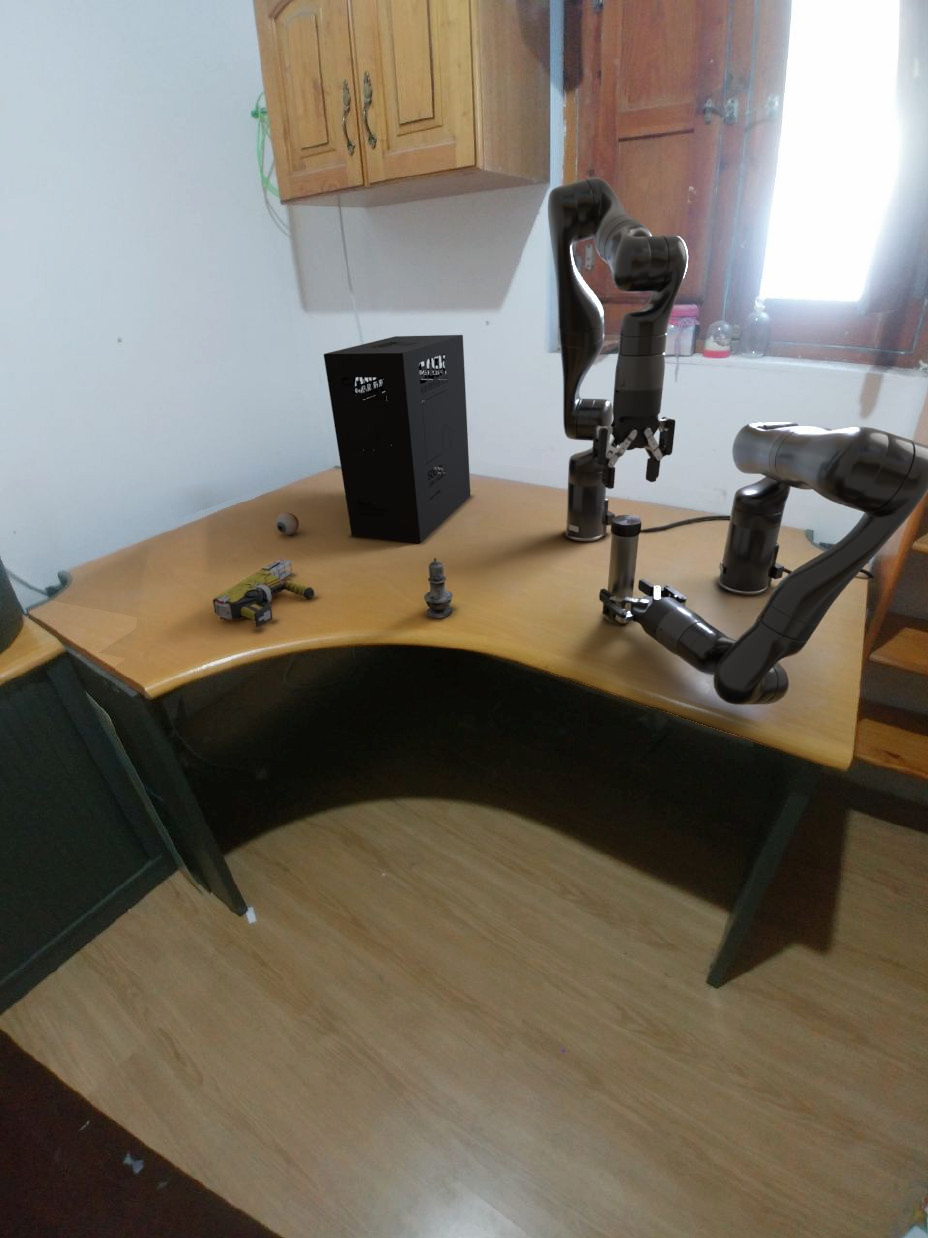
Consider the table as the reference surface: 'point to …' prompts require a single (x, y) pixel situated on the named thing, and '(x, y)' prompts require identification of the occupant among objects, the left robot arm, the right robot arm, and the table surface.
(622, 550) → the metal thermos bottle
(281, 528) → the eyeball
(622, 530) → the lid
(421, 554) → the table surface
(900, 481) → the right robot arm
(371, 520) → the cardboard box
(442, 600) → the dark chess piece
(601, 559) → the table surface
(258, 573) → the toy gun
